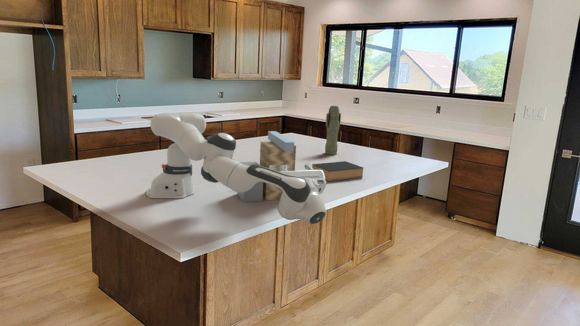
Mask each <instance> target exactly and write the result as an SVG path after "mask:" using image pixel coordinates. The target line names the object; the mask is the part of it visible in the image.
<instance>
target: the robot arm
mask: <svg viewBox="0 0 580 326" xmlns="http://www.w3.org/2000/svg"><path fill="white" fill-rule="evenodd" d="M149 127H150V130H151V131H152V133H153V134H154V135H155V136H157V137H162V138H166V139H168V140H169V141H171V142H174V143H172V144H170V145H169V146H168V148H167V150H166V156H167V159H166V161H167V162H166V164H165V163H162V164H161V168H162V172H161V173H159V175H157V176H155V178H153V179H152V181H151V185H150V188H148V189H146V191H145V195H146V197H148V198H149V199H184V198H187V197H188V196H192V195H194V194H195V192H196V191H195V189H194V188H195V187H194V184H193V177H192V175H193V165H192V161H195V162H196V161H201V160H203V162H202V165H201V169H200V174H201V176H202V178H203V179H204V180H206V181H207V182H210V183H214V184H216V183H217V184H218V183H220V184H222V185H223V186H225V187H227V189H230V190H232V191H233V192H240V193H242V192H246V191H248V190H250V189H251V188H252V187H253V186H254V185H255V184H256V183H258V182H265V183H267V184H270V185H273V186H275V187H278V188H280V189H281V190H282V196H281V198H280V199H279V203H278V206H277V211H278V214H279V215H280V216H281V217H282V218H284V219H286V220H287V221H288V220H290V221H291V220H301V221H305V222H306V223H308V224H310V225H316V224H318V223H320V222H321V221H323V220H324V218H325V217H326V214H327V211H326V206H325V203H324V201H323V198H322V197H321V194H323V193H324V191H325V189H326V187H327V182H328V181H327V180H325V175H324V172H323V171H322V170H314V169H313V168H312V166H310V164H309V163H305V164H304V168H305V169H304V170H295V171H288V169H289V166H288V165H285V166H284V169H285V171H280V172H278V171H275V170H272V169H270V168H267V167H264V166H260V165H251V166H247V165H244V164H242V163H240V161H238V160H235V159H233V157H234V153H235V150H236V146H237V141H236V139H235V137H234V136H232V135H230V134H228V133H226V132H216V133H213V134H211V135H209V136H207V137H206V139H205V137H204V136H203V133H204V132H205V130H206V127H207V120H206V118H205V116H204V115H203V114H202V113H198V112H191V111H190V112H188V111H187V112H186V111H185V112H161V113H157V114H154V115H153V116H152V118H151V120H150V126H149Z"/></svg>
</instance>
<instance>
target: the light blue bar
mask: <svg viewBox="0 0 580 326" xmlns="http://www.w3.org/2000/svg"><path fill="white" fill-rule="evenodd" d="M267 140H269V142H270V141H271V142H273V143H274V144H276V145H277V146H278V147H280V148H281V149H283V150H284V151H294V145H295V141H292V140H291V139H289V138H288V137H286V136H284V135H283V134H281V133H280V132H278V131H277V130H276V131H275V130H274V131H273V130H271V131H270V130H268V132H267Z"/></svg>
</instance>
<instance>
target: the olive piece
mask: <svg viewBox="0 0 580 326" xmlns="http://www.w3.org/2000/svg"><path fill="white" fill-rule="evenodd" d="M341 118H342V114H341V112H340V108H339V106H338V105H331V106H329V108H328V112H327V113H326V117H325V127H326V143H325V147H324V154H325V155H328V156H336V155H337V154H338V147H339V146H338V138H339V137H338V136H339V131H340V130H339V129H340V126H341Z"/></svg>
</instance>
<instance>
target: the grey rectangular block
mask: <svg viewBox="0 0 580 326" xmlns="http://www.w3.org/2000/svg"><path fill="white" fill-rule="evenodd" d="M239 162H240V161H239ZM240 163H242V164H244V165H247V166H251V165H259V164H260V163H258V162H257V161H241V162H240ZM237 196H238V197H239V198H240V199H241V200H242V202H244V203H252V202H263V182H258V183H256V184H255V185H254V186H253V187H252V188H251V189H250V190H248V191H246V192H242V193H240V192H237Z"/></svg>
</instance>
